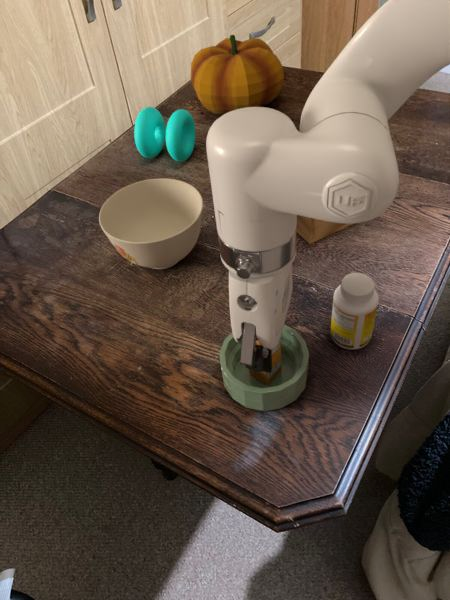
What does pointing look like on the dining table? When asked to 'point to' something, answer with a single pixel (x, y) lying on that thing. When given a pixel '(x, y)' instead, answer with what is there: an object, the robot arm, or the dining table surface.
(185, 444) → the dining table surface
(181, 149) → the turquoise yo-yo
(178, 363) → the dining table surface
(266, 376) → the supplement box
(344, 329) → the supplement bottle
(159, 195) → the bowl
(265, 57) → the decorative pumpkin
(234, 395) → the green bowl
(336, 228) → the wooden holder
